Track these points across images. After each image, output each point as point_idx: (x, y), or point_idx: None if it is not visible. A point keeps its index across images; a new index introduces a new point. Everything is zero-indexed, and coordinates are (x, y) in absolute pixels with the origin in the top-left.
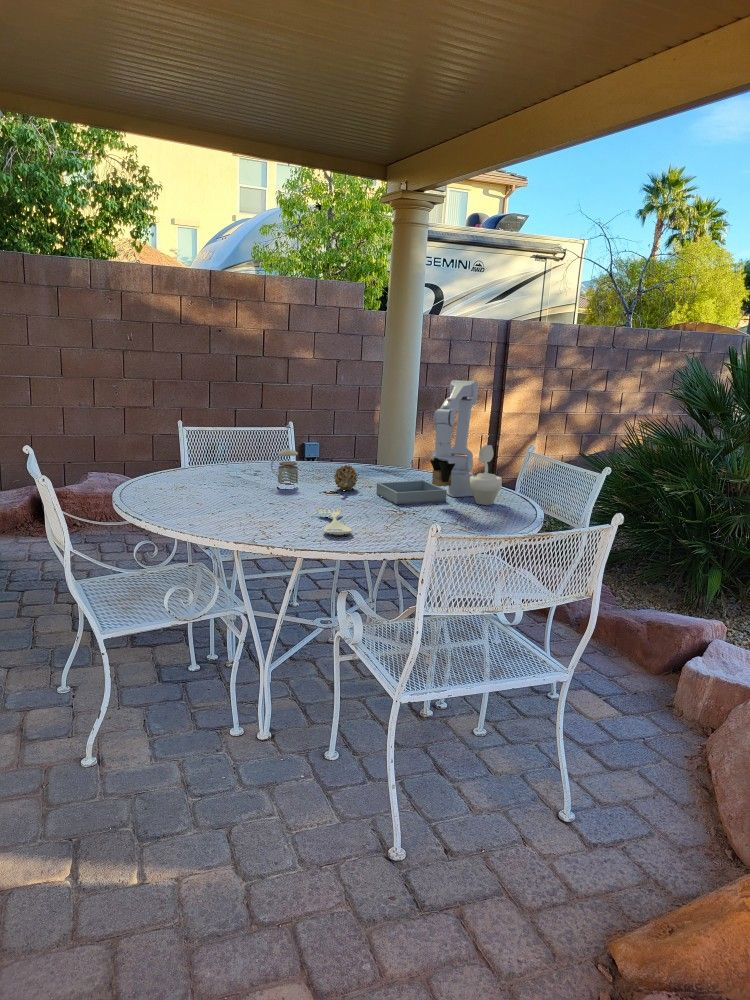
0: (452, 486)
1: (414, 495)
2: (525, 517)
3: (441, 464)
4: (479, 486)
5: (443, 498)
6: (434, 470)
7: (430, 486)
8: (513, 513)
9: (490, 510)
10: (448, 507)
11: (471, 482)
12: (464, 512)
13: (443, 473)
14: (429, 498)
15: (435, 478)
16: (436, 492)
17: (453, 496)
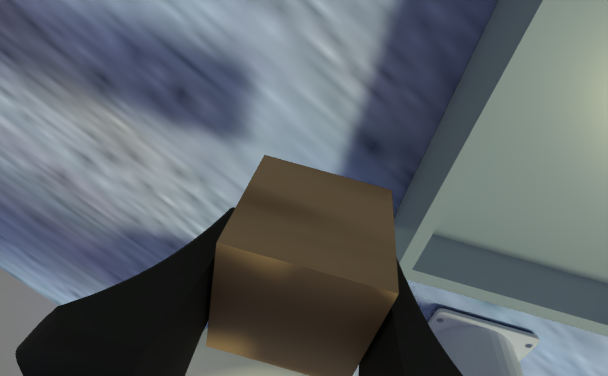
0: (475, 367)
1: (510, 34)
2: (16, 256)
3: (53, 323)
4: (199, 349)
5: (397, 225)
6: (369, 295)
7: (601, 312)
8: (82, 270)
9: (148, 247)
10: (274, 147)
11: (254, 368)
12: (141, 134)
13: (174, 256)
14: (437, 148)
15: (320, 210)
16: (420, 213)
17: (439, 311)
